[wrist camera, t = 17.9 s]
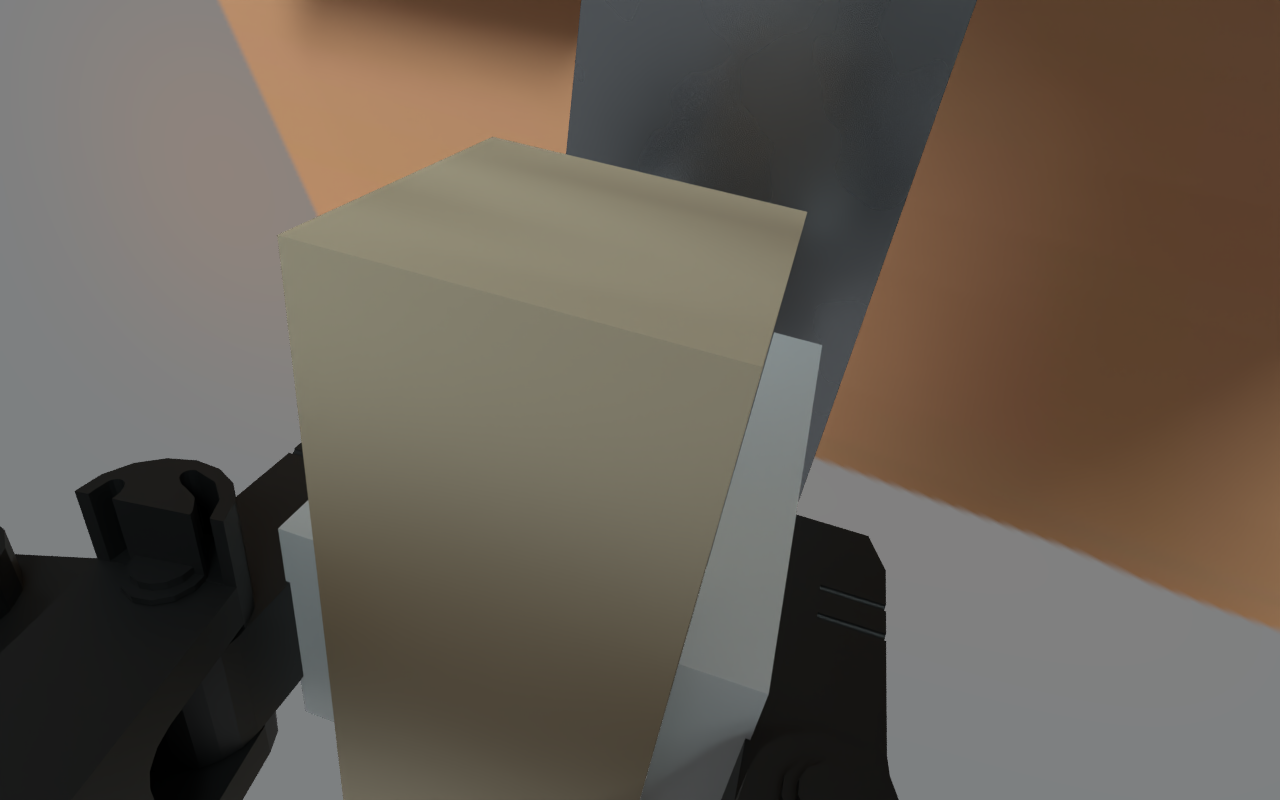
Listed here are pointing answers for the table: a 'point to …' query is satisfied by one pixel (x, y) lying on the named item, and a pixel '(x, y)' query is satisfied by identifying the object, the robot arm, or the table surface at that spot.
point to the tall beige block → (584, 377)
